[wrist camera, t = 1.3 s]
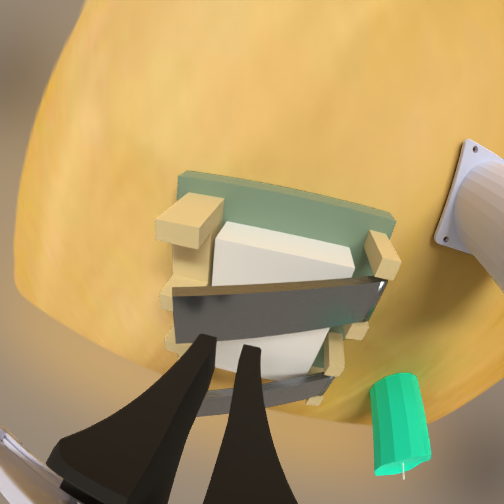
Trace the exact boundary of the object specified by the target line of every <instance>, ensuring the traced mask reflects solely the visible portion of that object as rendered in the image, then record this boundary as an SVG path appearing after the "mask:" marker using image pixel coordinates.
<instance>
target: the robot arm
mask: <svg viewBox="0 0 504 504" xmlns="http://www.w3.org/2000/svg"><path fill="white" fill-rule="evenodd" d="M474 146H475V151H474V152H473V147H474ZM446 236H447V238H446V240H444V241H443V239H444V237H446ZM434 240H435V241H436V243H438V244H440V245H444V246H447V247H450V248H453V249H456V250H459V251H462V252H465V253H468V254H471V255H473V256H474V257H475V258H476V259H477V260H478V261H479V263H480V264H481V265H482V266H483V267H484V269H485V270H486V271H487V272H488V273H489V275H490V276H491V277H492V278H493V280H494V281H495V282H496V284H497V285H498V286H499V287H500V289H501V290H502V292H503V293H504V159H502V158H501V157H499V156H498V155H496V154H495V153H493V152H491V151H490V150H488V149H486V148H485V147H483V146H481V145H480V144H478V143H476V142H474V141H473V140H470V139H465V140H464V142H463V145H462V149H461V154H460V158H459V162H458V165H457V169H456V173H455V176H454V179H453V183H452V186H451V189H450V192H449V196H448V199H447V202H446V205H445V207H444V210H443V213H442V216H441V218H440V221H439V224H438V226H437V229H436V232H435V234H434ZM216 344H217V337H214V336H210V335H206V334H199V335H198V337H197V338H196V340H195V341H194V342H193V343H192V345H191V346H190V347H189V348H188V350H187V351H186V352H185V353H184V354H183V355H182V356H181V358H180V359H179V360H178V361H177V362H176V363H175V364H174V365H173V366H172V367H171V368H170V369H169V370H168V371H167V372H166V373H165V374H164V375H163V376H162V377H161V378H160V379H159V380H158V381H156V382H155V383H154V384H153V385H152V386H151V387H150V388H149V389H148V390H146V391H145V392H144V393H143V394H141V395H140V396H139V397H138V398H136V399H135V400H133V401H132V402H131V403H129V404H128V405H126V406H125V407H123V408H122V409H120V410H119V411H117V412H116V413H114V414H113V415H111V416H109V417H108V418H106V419H104V420H102V421H100V422H98V423H96V424H94V425H92V426H91V427H89V428H87V429H84V430H82V431H80V432H77V433H75V434H72V435H70V436H67V437H64V438H62V439H60V441H59V442H58V443H57V445H56V446H55V447H54V449H53V450H52V452H51V454H50V456H49V458H48V460H47V462H46V464H47V465H46V464H45V463H43V462H42V461H41V460H39V459H38V458H37V457H36V456H34V455H33V454H32V453H31V452H29V451H28V450H27V449H26V448H25V447H24V446H23V444H22V443H21V442H20V441H19V440H17V438H16V437H15V436H13V435H12V434H11V433H10V432H9V431H8V430H7V429H6V428H4V427H3V426H1V425H0V491H1V493H2V494H3V495H4V496H5V497H6V499H7V500H8V501H9V503H10V504H77V502H79V503H80V504H168V500H169V496H170V492H171V488H172V485H173V482H174V478H175V474H176V471H177V468H178V465H179V461H180V458H181V455H182V452H183V449H184V445H185V442H186V439H187V437H188V434H189V432H190V429H191V427H192V425H193V423H194V420H195V418H196V416H197V414H198V411H199V409H200V407H201V404H202V402H203V400H204V398H205V395H206V393H207V391H208V388H209V385H210V382H211V378H212V375H213V372H214V368H215V358H216ZM261 351H262V350H261V349H260V348H259V347H255V346H251V345H246V344H243V347H242V351H241V354H240V357H239V361H238V366H237V372H236V377H235V383H234V388H233V394H232V400H231V406H230V412H229V418H228V423H227V427H226V430H225V434H224V437H223V440H222V444H221V447H220V451H219V454H218V457H217V461H216V464H215V467H214V471H213V474H212V477H211V481H210V484H209V486H208V490H207V493H206V496H205V499H204V502H203V504H298V503H297V501H296V499H295V497H294V495H293V493H292V491H291V489H290V487H289V484H288V482H287V480H286V477H285V475H284V472H283V470H282V467H281V465H280V462H279V459H278V456H277V453H276V450H275V447H274V444H273V440H272V437H271V433H270V429H269V425H268V421H267V416H266V411H265V405H264V398H263V391H262V382H261Z"/></svg>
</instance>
